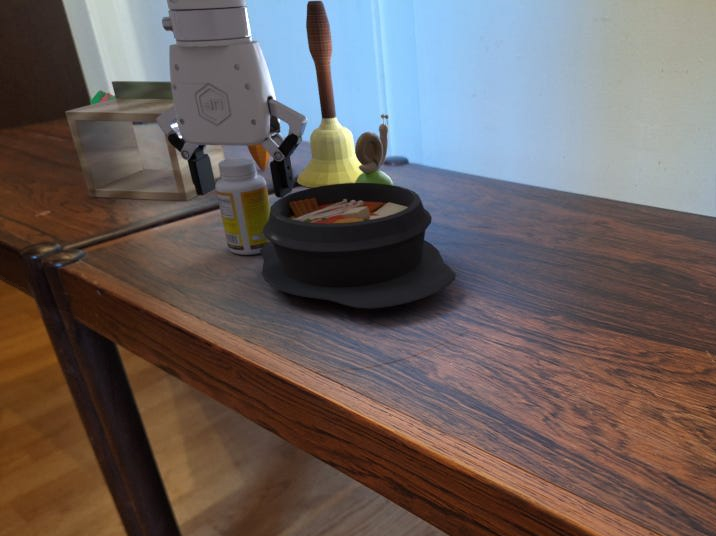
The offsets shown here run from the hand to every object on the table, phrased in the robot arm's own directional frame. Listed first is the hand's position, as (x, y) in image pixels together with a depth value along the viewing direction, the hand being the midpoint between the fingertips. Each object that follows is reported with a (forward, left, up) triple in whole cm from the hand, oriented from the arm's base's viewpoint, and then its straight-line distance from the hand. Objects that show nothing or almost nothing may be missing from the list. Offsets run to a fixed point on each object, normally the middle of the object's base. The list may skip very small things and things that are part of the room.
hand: (245, 193), depth 80 cm
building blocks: (-68, +72, -7) cm, 99 cm away
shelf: (-27, +23, -7) cm, 36 cm away
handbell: (-2, +32, -7) cm, 33 cm away
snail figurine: (+10, +17, -7) cm, 21 cm away
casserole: (+15, -7, -7) cm, 18 cm away
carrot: (-16, +35, -7) cm, 39 cm away
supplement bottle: (0, 0, -7) cm, 7 cm away
